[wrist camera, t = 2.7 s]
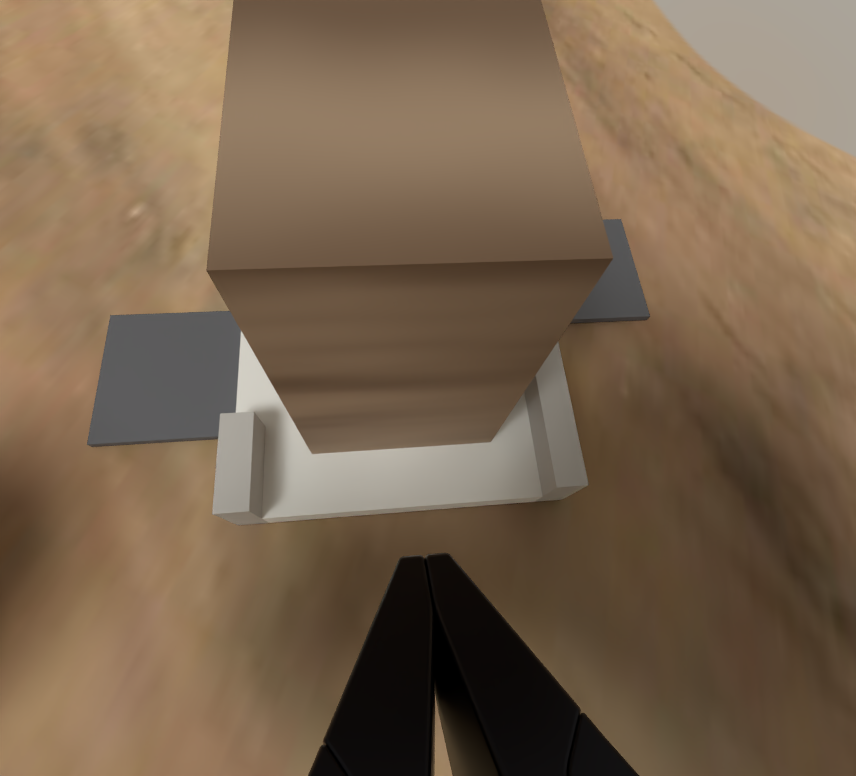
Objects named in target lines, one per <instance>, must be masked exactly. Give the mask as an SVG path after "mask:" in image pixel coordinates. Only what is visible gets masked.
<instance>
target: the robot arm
mask: <svg viewBox="0 0 856 776" xmlns="http://www.w3.org/2000/svg"><path fill="white" fill-rule="evenodd" d="M435 694H436V700H437V706H438V711H439V716H440V720H441V725H442V729H443V734H444V738H445V743H446V748H447V752H448V757H449V761H450V766H451V770H452V775H453V776H639V775H638V774H637V773H636V772H635V770H634V769H633V768H632V767H631V766H630V765H629V764H628V763H627V762H626V760H625V759H624V758H623V757H622V756H621V755H620V754H619V753H618V751H617V750H616V749H615V748H614V747H613V746H612V745H611V744H610V742H609V741H608V740H607V739H606V738H605V737H604V736H603V734H602V733H601V732H600V731H599V730H598V728H597V727H596V726H595V725H594V724H593V723H592V721H591V720H590V719H589V718H588V717H587V715H586V714H585V713H581V714H580V712H581V710H580V708H579V706H578V705H577V704H576V703H575V702H574V700H573V699H572V698H571V697H570V696H569V694H568V693H567V692H566V691H565V690H564V689H563V687H562V686H561V685H560V684H559V683H558V682H557V680H556V679H555V678H554V677H553V676H552V674H551V673H550V672H549V671H548V670H547V669H546V667H545V666H544V665H543V664H542V663H541V661H540V660H539V659H538V658H537V657H536V656H535V654H534V653H533V652H532V651H531V650H530V648H529V647H528V646H527V645H526V644H525V643H524V641H523V640H522V639H521V638H520V637H519V635H518V634H517V633H516V632H515V631H514V630H513V628H512V627H511V626H510V625H509V624H508V623H507V621H506V620H505V619H504V618H503V617H502V615H501V614H500V613H499V612H498V611H497V610H496V608H495V607H494V606H493V605H492V604H491V602H490V601H489V600H488V599H487V598H486V597H485V595H484V594H483V593H482V592H481V591H480V589H479V588H478V587H477V586H476V585H475V584H474V582H473V581H472V580H471V579H470V578H469V576H468V575H467V574H466V573H465V572H464V571H463V569H462V568H461V567H460V566H459V565H458V564H457V562H456V561H455V560H454V559H453V558H452V556H451V555H450V554H448V553H438V554H428V555H426V557H425V559H424V557H423V556H422V555H415V556H403V557H401V558H400V559H399V560H398V563H397V565H396V567H395V570H394V572H393V575H392V577H391V579H390V582H389V584H388V586H387V589H386V591H385V594H384V596H383V598H382V601H381V603H380V606H379V608H378V610H377V613H376V615H375V618H374V620H373V622H372V625H371V627H370V629H369V632H368V634H367V637H366V639H365V641H364V644H363V646H362V649H361V651H360V653H359V656H358V658H357V661H356V663H355V665H354V668H353V670H352V672H351V675H350V677H349V680H348V682H347V684H346V687H345V689H344V692H343V694H342V696H341V699H340V701H339V704H338V706H337V708H336V711H335V713H334V716H333V718H332V720H331V723H330V725H329V727H328V730H327V732H326V735H325V737H324V740H323V744H324V745H322V746H321V747H320V748H319V751H318V753H317V755H316V758H315V760H314V763H313V765H312V767H311V770H310V772H309V774H308V776H434V764H435Z"/></svg>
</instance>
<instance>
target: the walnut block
mask: <svg viewBox="0 0 856 776" xmlns="http://www.w3.org/2000/svg"><path fill="white" fill-rule="evenodd" d="M612 260H613V255H612V251H611V248H610V244H609V241H608V237H607V234H606V230H605V227H604V223H603V219H602V216H601V212H600V209H599V205H598V202H597V198H596V195H595V191H594V187H593V184H592V180H591V177H590V173H589V170H588V166H587V163H586V159H585V155H584V152H583V148H582V145H581V141H580V138H579V134H578V131H577V127H576V123H575V120H574V116H573V113H572V109H571V106H570V102H569V99H568V95H567V91H566V88H565V84H564V81H563V77H562V74H561V70H560V67H559V63H558V59H557V56H556V52H555V49H554V45H553V42H552V38H551V35H550V31H549V27H548V24H547V20H546V17H545V13H544V10H543V6H542V3H541V0H234V1H233V11H232V21H231V31H230V41H229V51H228V61H227V71H226V81H225V91H224V101H223V111H222V121H221V131H220V141H219V151H218V161H217V171H216V181H215V191H214V201H213V211H212V221H211V231H210V241H209V250H208V260H207V272H208V274H209V276H210V277H211V279H212V281H213V283H214V284H215V286H216V288H217V290H218V291H219V293H220V295H221V296H222V298H223V300H224V302H225V303H226V305H227V307H228V309H229V310H230V312H231V314H232V316H233V317H234V319H235V321H236V323H237V324H238V326H239V328H240V330H241V331H242V333H243V335H244V337H245V338H246V340H247V342H248V344H249V345H250V347H251V349H252V351H253V352H254V354H255V356H256V357H257V359H258V361H259V363H260V364H261V366H262V368H263V370H264V371H265V373H266V375H267V377H268V378H269V380H270V382H271V384H272V385H273V387H274V389H275V391H276V392H277V394H278V396H279V398H280V399H281V401H282V403H283V405H284V406H285V408H286V410H287V412H288V413H289V415H290V417H291V418H292V420H293V422H294V424H295V425H296V427H297V429H298V431H299V432H300V434H301V436H302V438H303V439H304V441H305V443H306V445H307V446H308V448H309V450H310V452H311V453H312V454H322V453H337V452H352V451H367V450H382V449H397V448H412V447H427V446H442V445H457V444H472V443H487V442H491V441H492V440H493V438H494V437H495V435H496V434H497V432H498V431H499V429H500V428H501V426H502V425H503V423H504V422H505V420H506V419H507V417H508V416H509V414H510V413H511V411H512V410H513V408H514V407H515V405H516V404H517V402H518V401H519V399H520V398H521V396H522V395H523V393H524V392H525V390H526V389H527V387H528V386H529V384H530V383H531V381H532V380H533V378H534V377H535V375H536V374H537V372H538V371H539V369H540V368H541V366H542V365H543V363H544V362H545V360H546V359H547V357H548V356H549V354H550V353H551V351H552V350H553V348H554V347H555V345H556V344H557V342H558V341H559V339H560V338H561V336H562V335H563V333H564V332H565V330H566V329H567V327H568V326H569V324H570V323H571V321H572V320H573V318H574V317H575V315H576V314H577V312H578V311H579V309H580V308H581V306H582V305H583V303H584V302H585V300H586V299H587V297H588V296H589V294H590V293H591V291H592V290H593V288H594V287H595V285H596V284H597V282H598V281H599V279H600V278H601V276H602V275H603V273H604V272H605V270H606V269H607V267H608V266H609V264H610V263H611V261H612Z"/></svg>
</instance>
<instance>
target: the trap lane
mask: <svg viewBox="0 0 856 776" xmlns="http://www.w3.org/2000/svg"><path fill="white" fill-rule="evenodd" d="M603 223H604V227H605V230H606V234H607V237H608V241H609V244H610V248H611V251H612V255H613V260H612V261H611V263H610V264H609V266H608V267H607V269H606V270H605V272H604V273H603V275H602V276H601V278H600V279H599V281H598V282H597V284H596V285H595V287H594V288H593V290H592V291H591V293H590V294H589V296H588V297H587V299H586V300H585V302H584V303H583V305H582V306H581V308H580V309H579V311H578V312H577V314H576V315H575V317H574V318H573V320H572V321H571V323H586V322H610V321H633V320H647V319H648V318H649V317H650V314H649V311H648V308H647V304H646V301H645V298H644V294H643V291H642V288H641V284H640V281H639V278H638V274H637V271H636V268H635V264H634V261H633V258H632V254H631V251H630V248H629V244H628V241H627V238H626V234H625V231H624V228H623V224H622V221H621V219H613V220H603ZM210 439H218V448H217V461H216V474H215V487H214V500H213V513H212V514H213V515H216V516H218V517H220V518H223V519H225V520H227V521H229V522H232V523H234V524H236V525H247V524H260V523H273V522H285V521H298V520H310V519H323V518H336V517H348V516H361V515H373V514H386V513H398V512H411V511H424V510H436V509H449V508H461V507H474V506H487V505H499V504H512V503H524V502H537V501H550V500H562V499H564V498H566V497H568V496H570V495H571V494H573V493H575V492H577V491H579V490H581V489H583V488H584V487H586V486H588V485H589V484H588V479H587V475H586V470H585V465H584V460H583V456H582V451H581V446H580V442H579V437H578V432H577V428H576V423H575V418H574V413H573V409H572V404H571V399H570V395H569V390H568V385H567V380H566V376H565V371H564V366H563V362H562V357H561V352H560V348H559V343H558V342H557V344H556V345H555V347H554V348H553V350H552V351H551V353H550V354H549V356H548V357H547V359H546V360H545V362H544V363H543V365H542V366H541V368H540V369H539V371H538V372H537V374H536V375H535V377H534V378H533V380H532V381H531V383H530V384H529V386H528V387H527V389H526V390H525V392H524V393H523V395H522V396H521V398H520V399H519V401H518V402H517V404H516V405H515V407H514V408H513V410H512V411H511V413H510V414H509V416H508V417H507V419H506V420H505V422H504V423H503V425H502V426H501V428H500V429H499V431H498V432H497V434H496V435H495V437H494V438H493V440H492V441H491V442H487V443H472V444H457V445H442V446H427V447H412V448H397V449H382V450H367V451H352V452H337V453H322V454H312V453H311V452H310V450H309V448H308V446H307V445H306V443H305V441H304V439H303V438H302V436H301V434H300V432H299V431H298V429H297V427H296V425H295V424H294V422H293V420H292V418H291V417H290V415H289V413H288V412H287V410H286V408H285V406H284V405H283V403H282V401H281V399H280V398H279V396H278V394H277V392H276V391H275V389H274V387H273V385H272V384H271V382H270V380H269V378H268V377H267V375H266V373H265V371H264V370H263V368H262V366H261V364H260V363H259V361H258V359H257V357H256V356H255V354H254V352H253V351H252V349H251V347H250V345H249V344H248V342H247V340H246V338H245V337H244V335H243V333H242V331H241V330H240V328H239V326H238V324H237V323H236V321H235V319H234V317H233V316H232V314H231V312H230V311H216V312H189V313H163V314H136V315H110V321H109V326H108V332H107V337H106V343H105V348H104V354H103V359H102V365H101V370H100V376H99V381H98V387H97V392H96V398H95V403H94V409H93V414H92V420H91V425H90V431H89V436H88V442H87V445H89V446H91V447H98V446H114V445H130V444H146V443H162V442H178V441H194V440H210Z"/></svg>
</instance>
